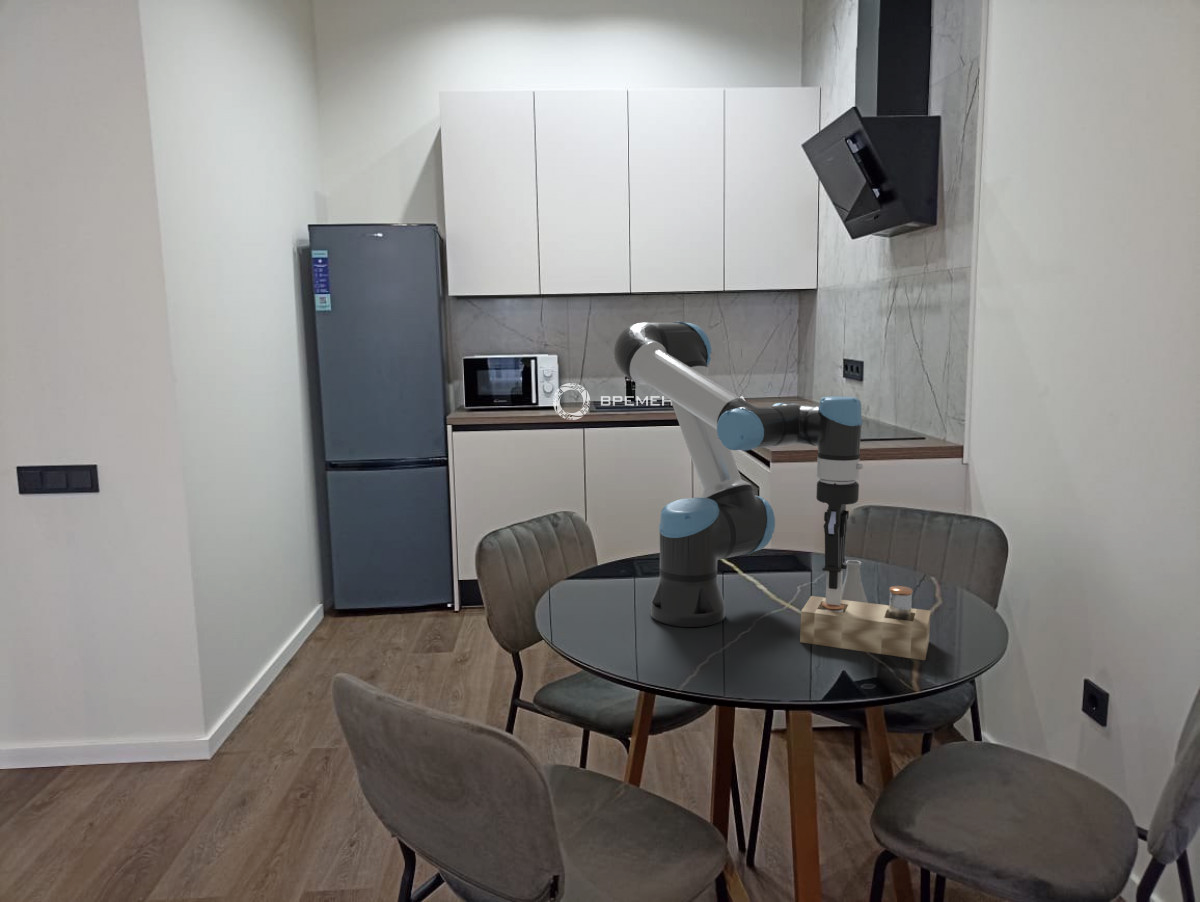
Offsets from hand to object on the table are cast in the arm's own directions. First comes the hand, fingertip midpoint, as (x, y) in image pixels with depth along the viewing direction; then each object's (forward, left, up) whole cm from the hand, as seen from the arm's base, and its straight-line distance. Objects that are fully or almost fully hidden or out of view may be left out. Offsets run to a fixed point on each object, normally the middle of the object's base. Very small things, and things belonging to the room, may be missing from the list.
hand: (833, 603), depth 164 cm
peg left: (0, 0, -6) cm, 6 cm away
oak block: (+6, 0, -7) cm, 9 cm away
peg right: (+12, 0, -2) cm, 12 cm away
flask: (+1, +19, -7) cm, 20 cm away
